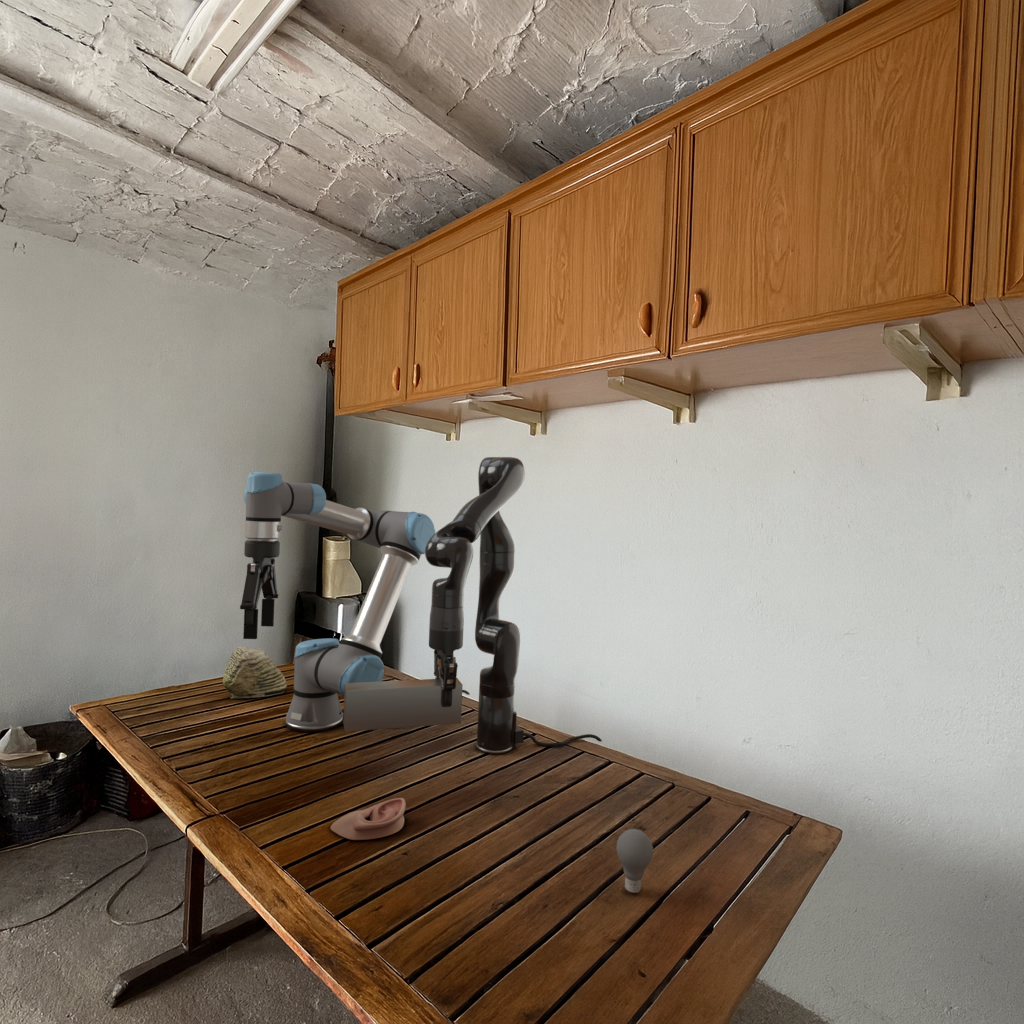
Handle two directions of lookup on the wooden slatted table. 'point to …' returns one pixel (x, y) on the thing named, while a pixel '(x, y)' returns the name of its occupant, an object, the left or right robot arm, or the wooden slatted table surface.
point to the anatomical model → (372, 821)
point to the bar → (399, 704)
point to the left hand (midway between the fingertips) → (259, 632)
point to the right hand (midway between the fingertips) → (443, 701)
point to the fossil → (252, 674)
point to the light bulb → (634, 857)
